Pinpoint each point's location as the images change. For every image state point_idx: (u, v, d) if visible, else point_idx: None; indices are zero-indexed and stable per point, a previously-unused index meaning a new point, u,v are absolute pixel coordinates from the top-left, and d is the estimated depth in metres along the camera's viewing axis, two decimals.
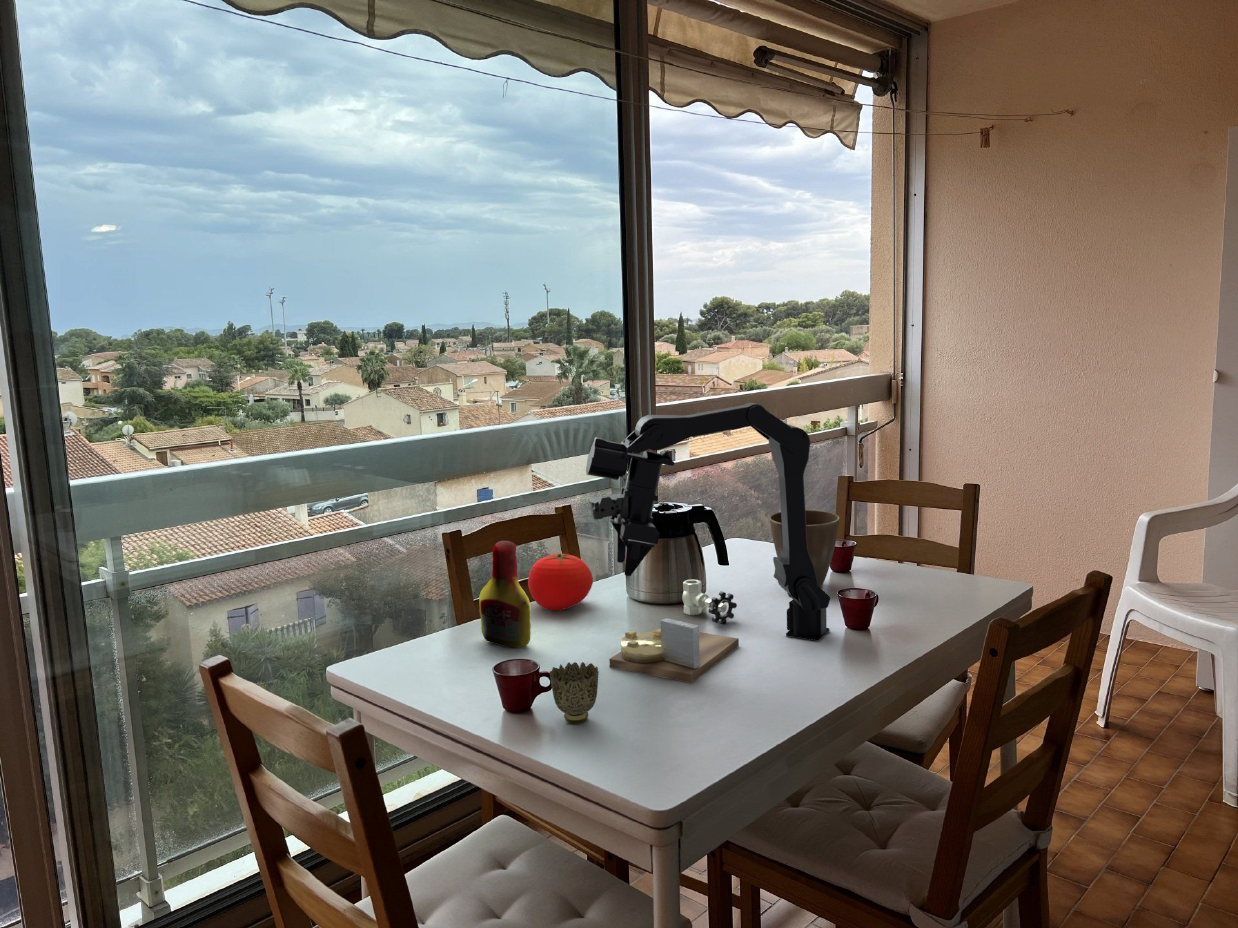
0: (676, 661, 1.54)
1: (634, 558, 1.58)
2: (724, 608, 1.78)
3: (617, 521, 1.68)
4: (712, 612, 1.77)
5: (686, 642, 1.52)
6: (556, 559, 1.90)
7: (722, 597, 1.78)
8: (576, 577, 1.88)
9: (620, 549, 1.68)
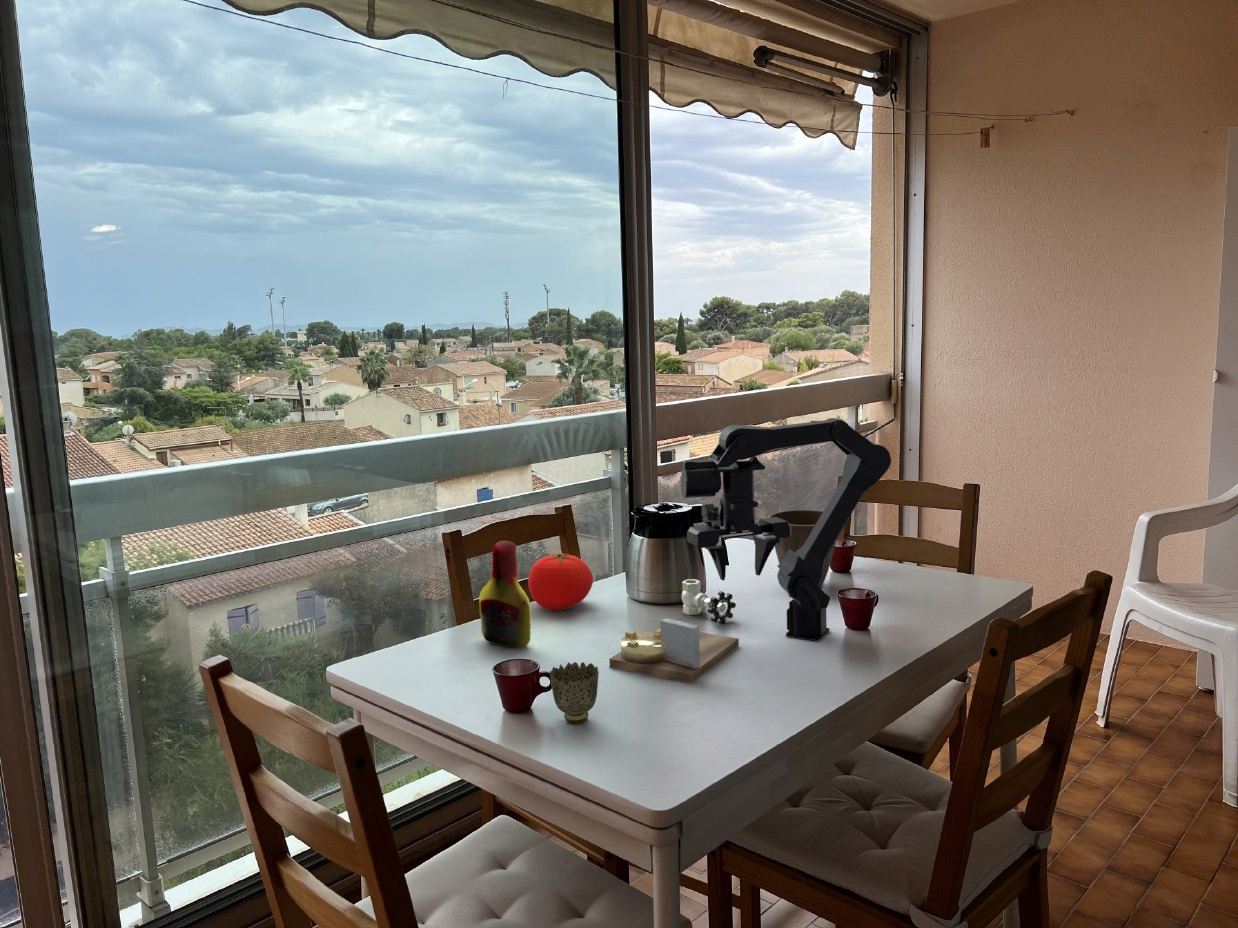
0: (676, 661, 1.54)
1: (717, 562, 1.66)
2: (723, 608, 1.78)
3: None
4: (711, 612, 1.77)
5: (686, 642, 1.52)
6: (556, 559, 1.90)
7: (721, 597, 1.78)
8: (576, 577, 1.88)
9: (756, 561, 1.69)
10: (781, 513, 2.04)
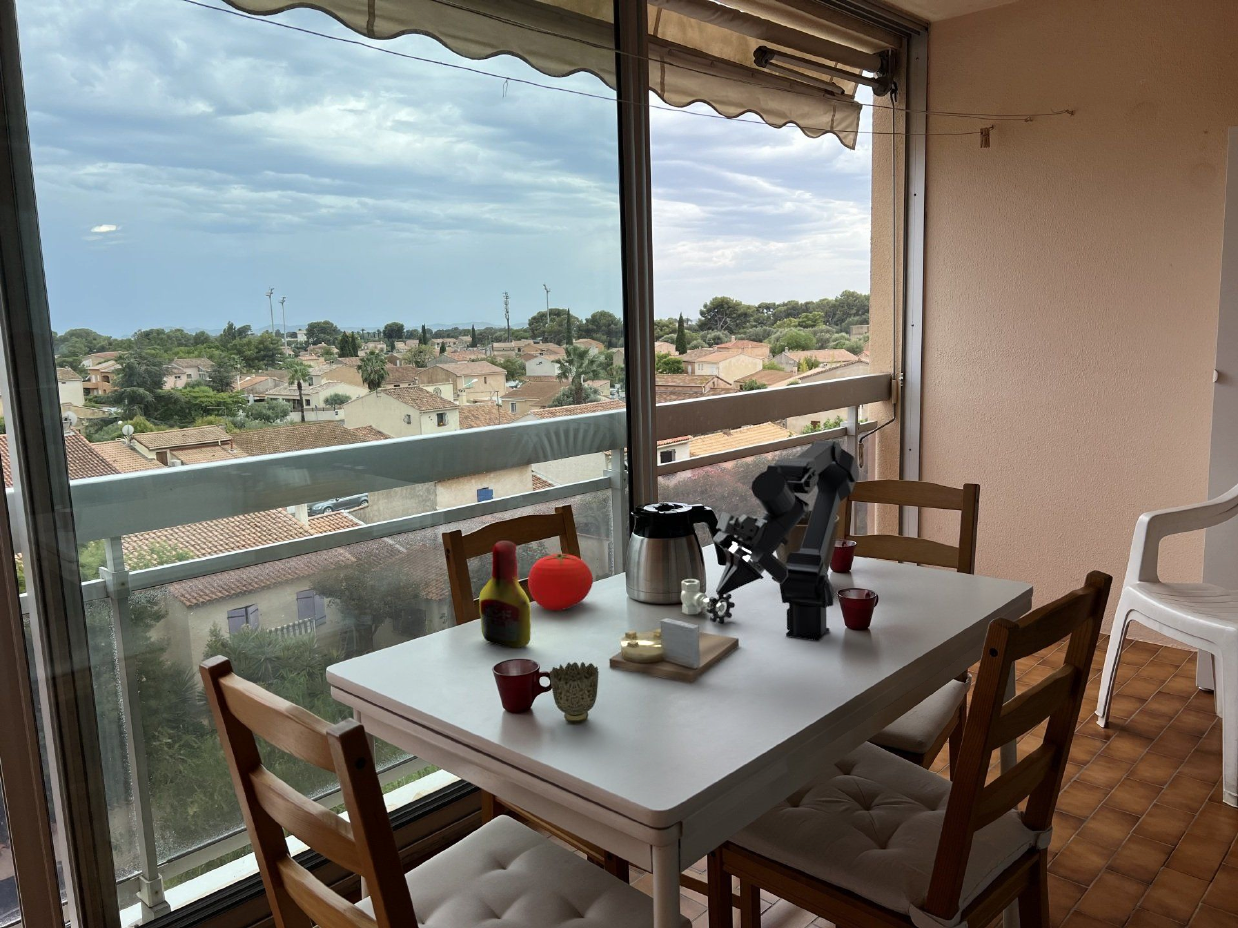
0: (676, 661, 1.54)
1: (735, 581, 1.55)
2: (722, 608, 1.79)
3: (735, 552, 1.57)
4: (710, 611, 1.77)
5: (686, 642, 1.52)
6: (556, 559, 1.90)
7: (720, 596, 1.78)
8: (576, 577, 1.88)
9: None
10: None
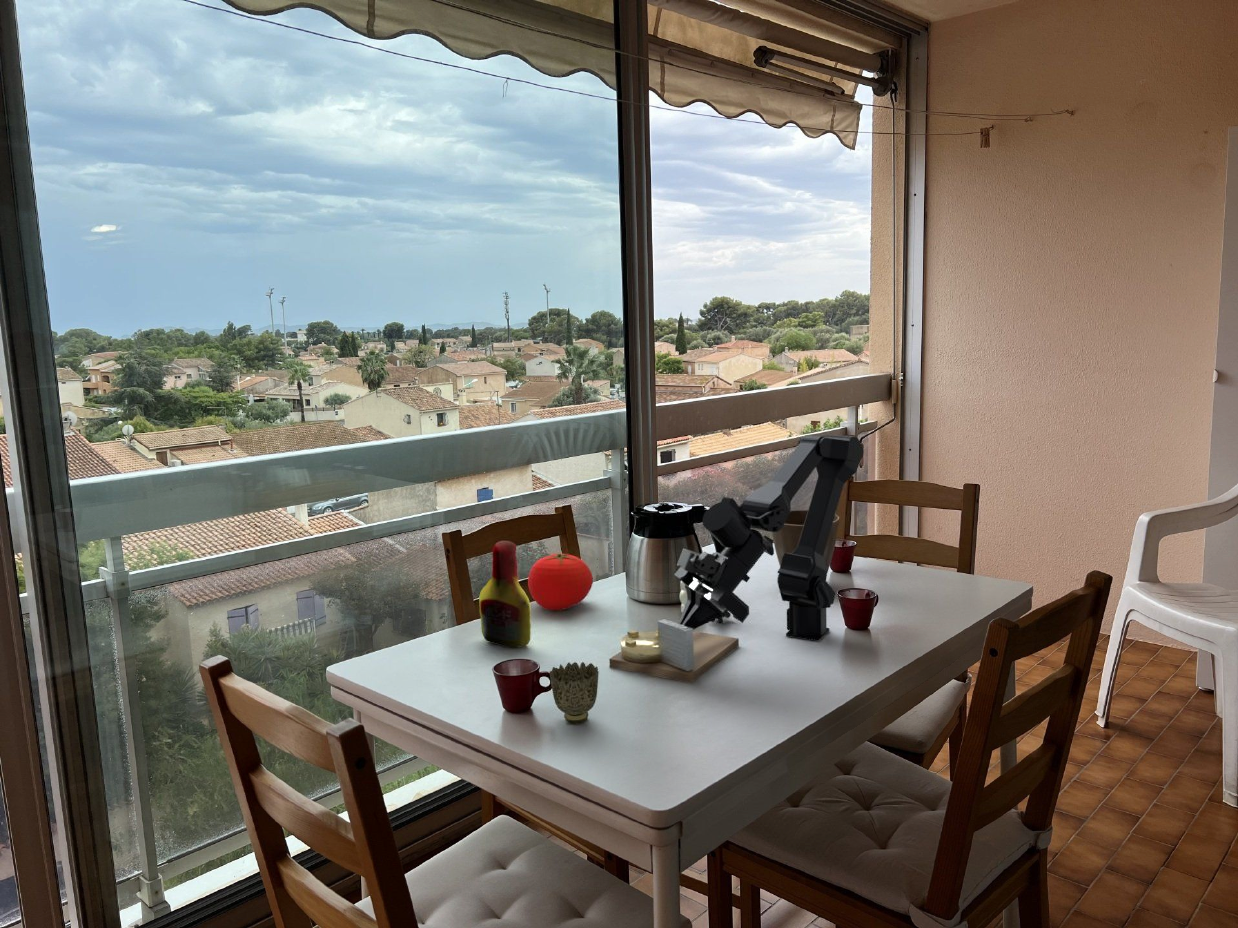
0: (671, 663, 1.54)
1: (698, 619, 1.53)
2: None
3: (695, 589, 1.55)
4: None
5: (680, 644, 1.51)
6: (556, 559, 1.90)
7: None
8: (576, 577, 1.88)
9: (686, 618, 1.54)
10: None
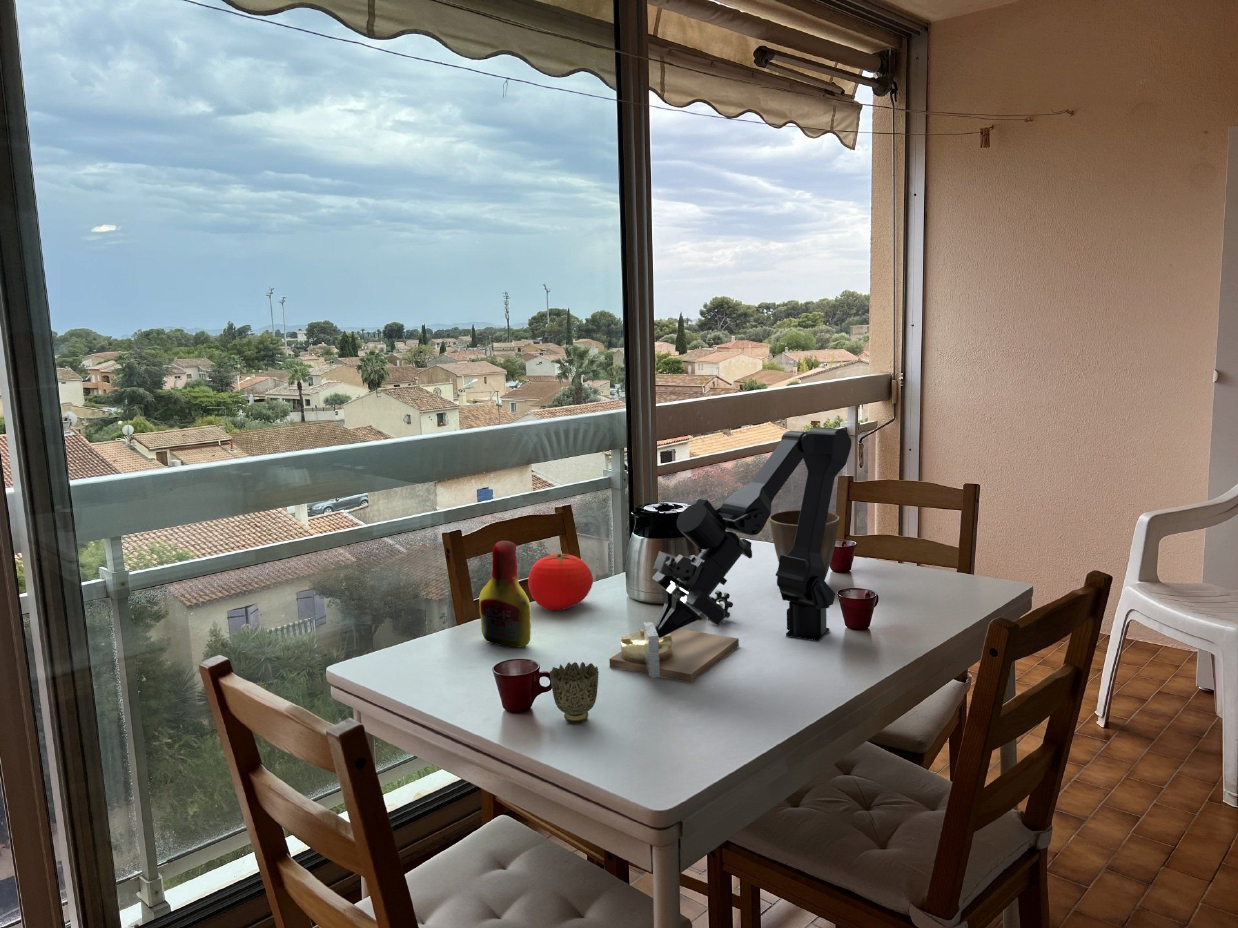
0: (647, 666, 1.52)
1: (674, 622, 1.52)
2: None
3: (672, 592, 1.54)
4: None
5: (648, 649, 1.50)
6: (556, 559, 1.90)
7: (718, 596, 1.78)
8: (576, 577, 1.88)
9: None
10: (781, 513, 2.04)
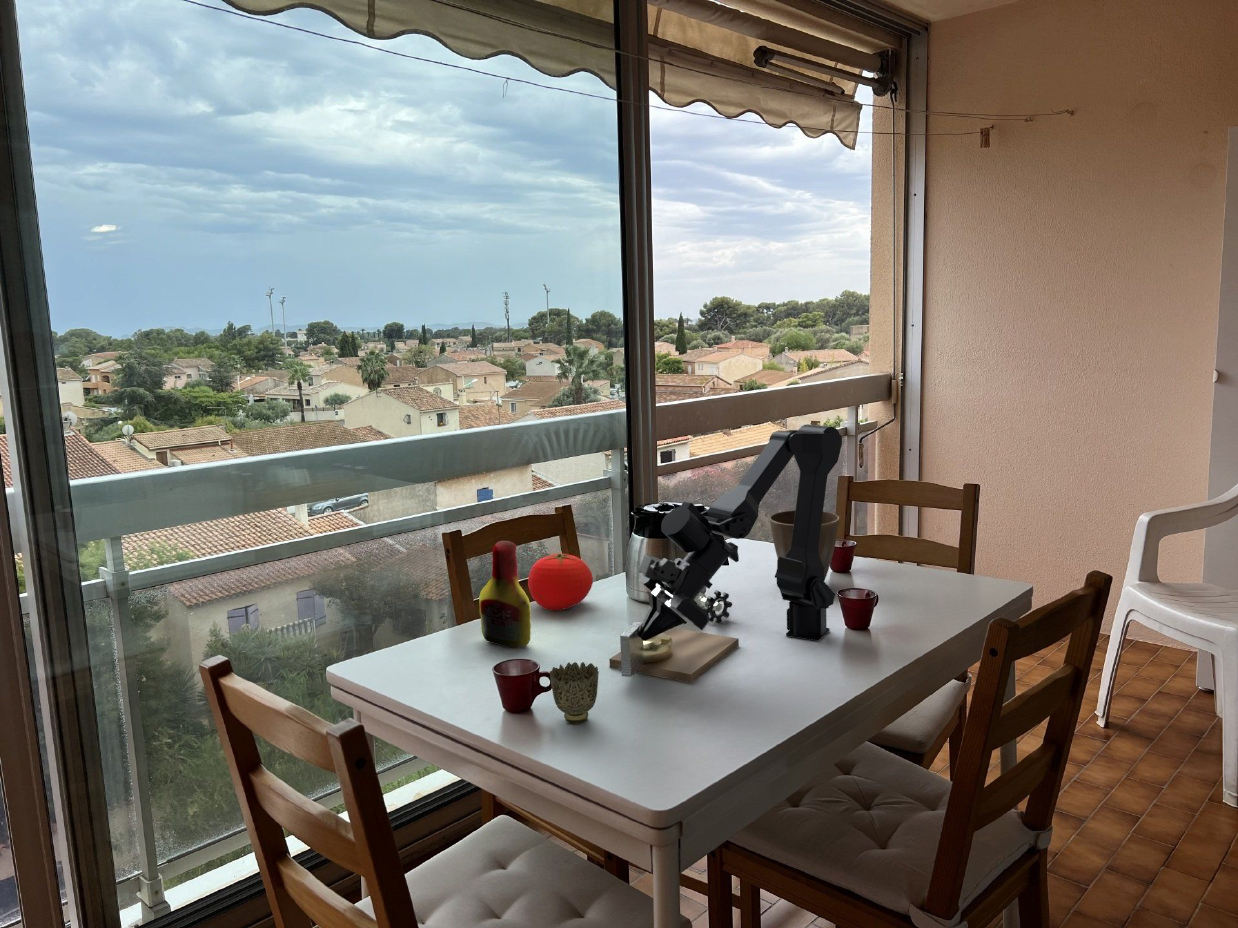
0: None
1: (659, 626, 1.51)
2: (719, 607, 1.79)
3: (657, 595, 1.54)
4: (707, 611, 1.77)
5: None
6: (556, 559, 1.90)
7: (717, 596, 1.78)
8: (576, 577, 1.88)
9: (647, 624, 1.53)
10: (781, 513, 2.04)
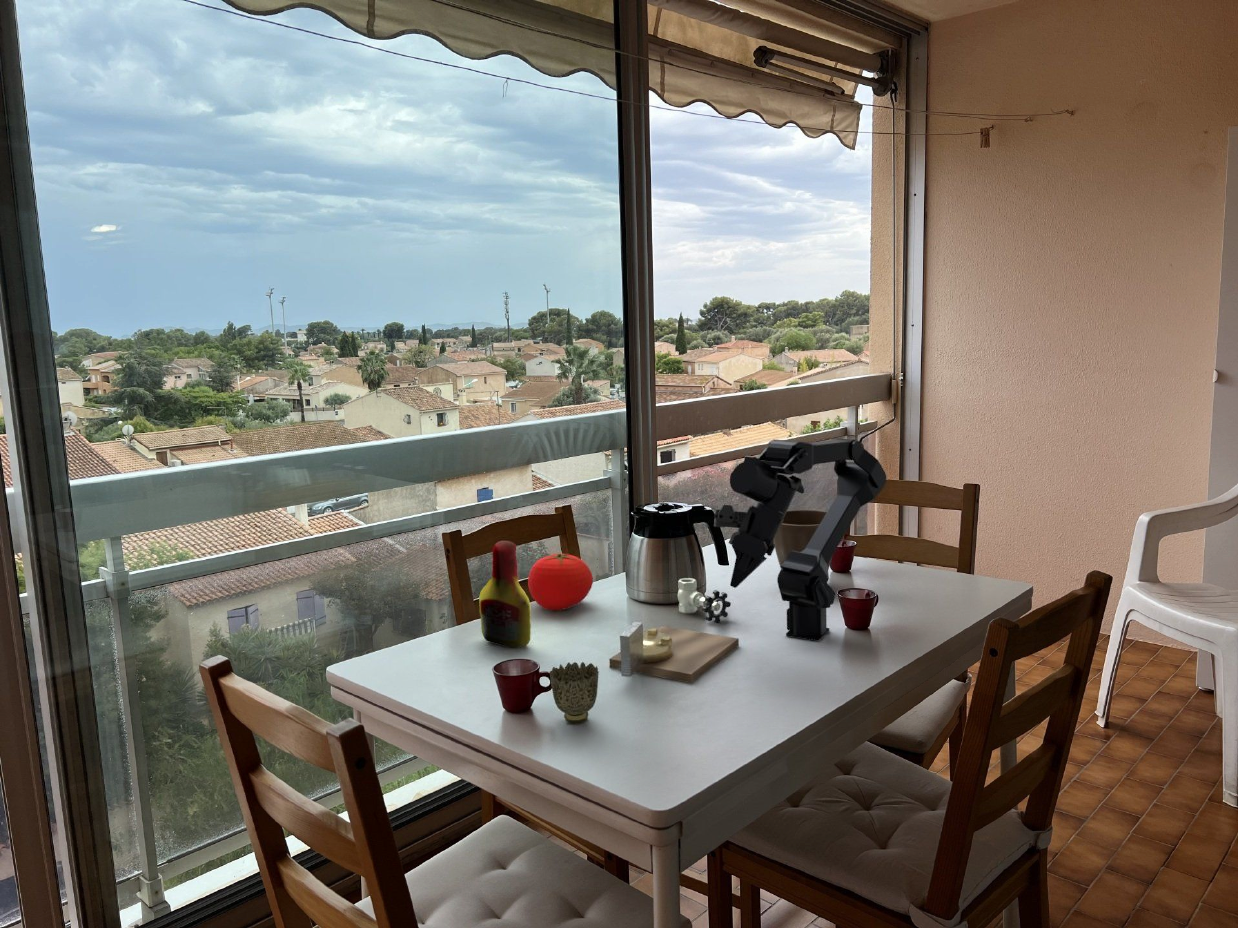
0: None
1: (741, 570, 1.60)
2: (718, 607, 1.79)
3: None
4: (705, 611, 1.78)
5: None
6: (556, 559, 1.90)
7: (716, 596, 1.79)
8: (576, 577, 1.88)
9: None
10: None
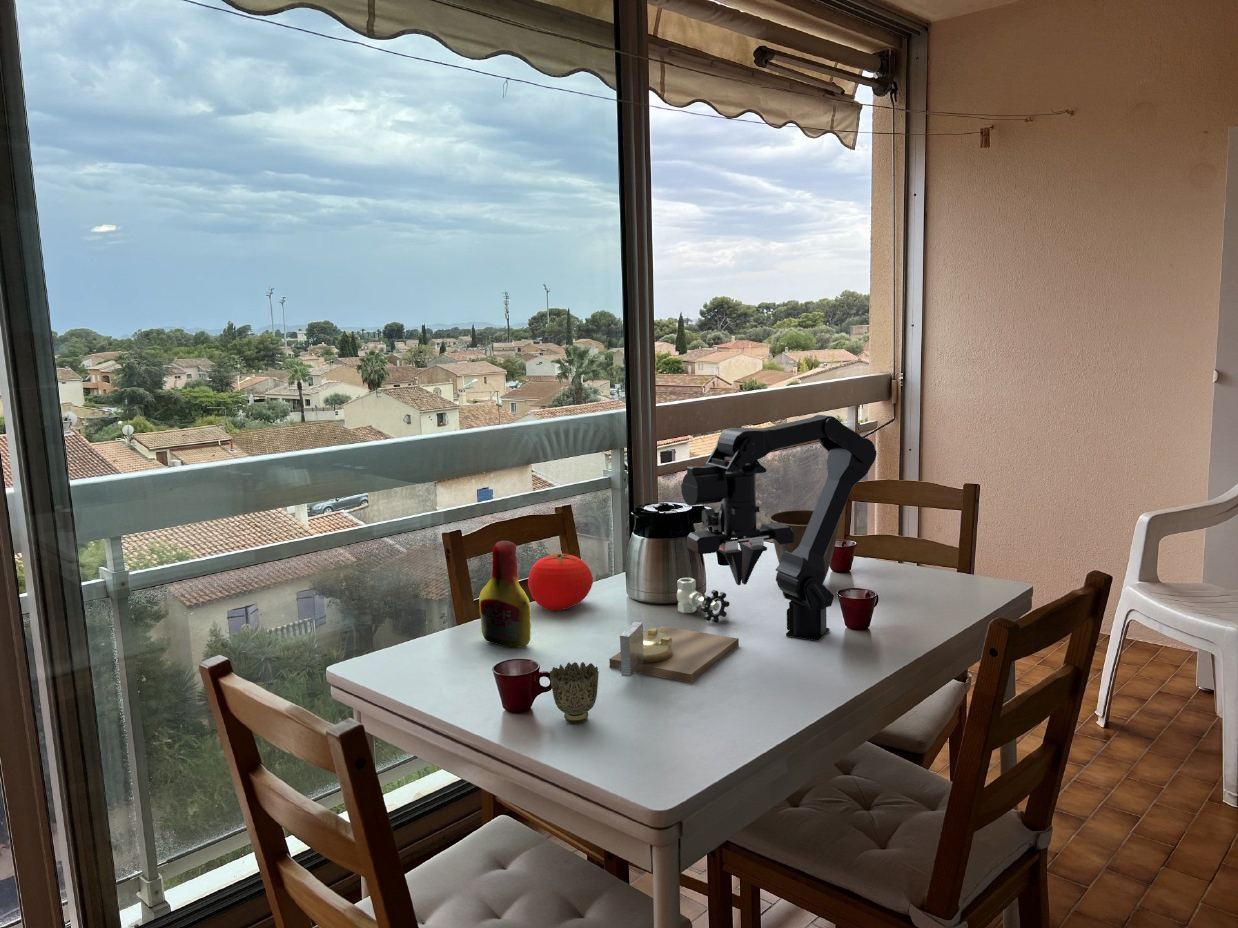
0: None
1: (733, 567, 1.62)
2: (716, 606, 1.79)
3: None
4: (704, 610, 1.78)
5: None
6: (556, 559, 1.90)
7: (715, 595, 1.79)
8: (576, 577, 1.88)
9: (742, 570, 1.64)
10: (781, 513, 2.04)
